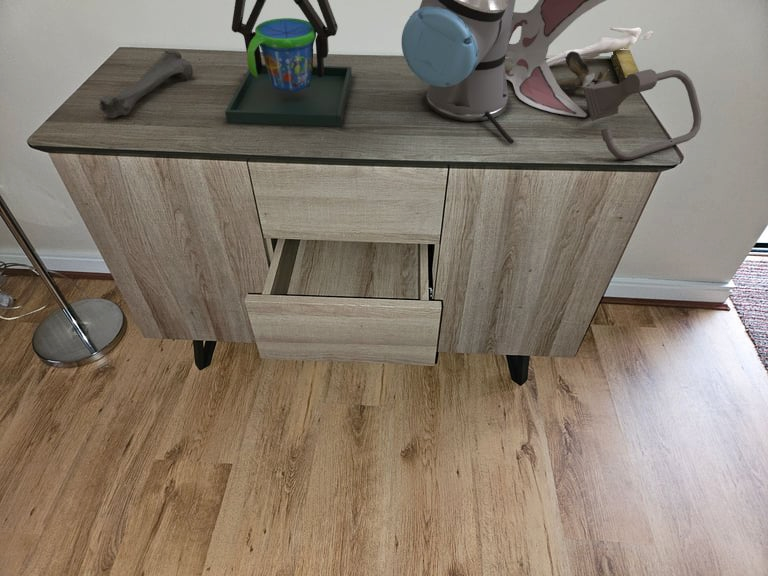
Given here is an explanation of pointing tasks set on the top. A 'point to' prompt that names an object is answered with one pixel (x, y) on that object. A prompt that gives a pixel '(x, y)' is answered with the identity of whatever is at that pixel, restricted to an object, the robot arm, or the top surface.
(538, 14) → the mask
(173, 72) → the bone
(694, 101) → the toilet paper hanger
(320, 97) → the tray
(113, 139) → the top surface
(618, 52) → the decorative block
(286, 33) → the sippy cup
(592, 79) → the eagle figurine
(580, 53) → the figurine
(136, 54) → the top surface
